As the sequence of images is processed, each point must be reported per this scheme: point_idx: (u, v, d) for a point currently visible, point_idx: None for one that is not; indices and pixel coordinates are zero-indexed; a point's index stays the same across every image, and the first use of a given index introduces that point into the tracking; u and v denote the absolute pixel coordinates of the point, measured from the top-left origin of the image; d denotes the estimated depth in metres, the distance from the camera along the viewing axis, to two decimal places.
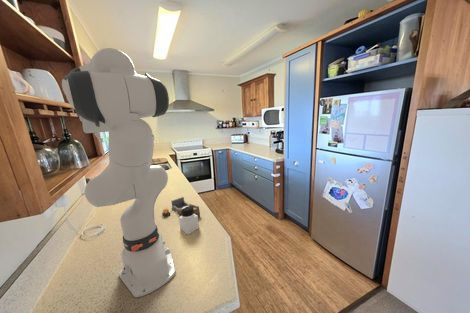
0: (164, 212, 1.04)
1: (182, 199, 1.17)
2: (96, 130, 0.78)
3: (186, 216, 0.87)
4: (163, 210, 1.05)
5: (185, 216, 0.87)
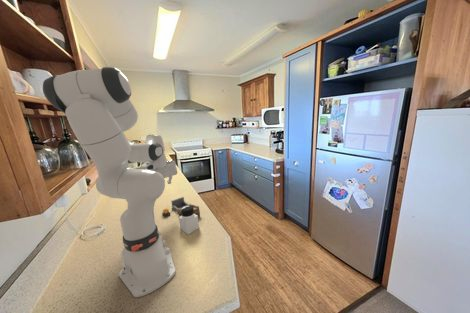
0: (164, 212, 1.04)
1: (182, 199, 1.17)
2: None
3: (186, 216, 0.87)
4: (163, 210, 1.05)
5: (185, 216, 0.87)
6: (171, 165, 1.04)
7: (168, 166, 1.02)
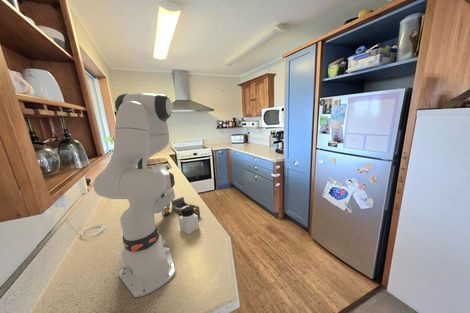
0: None
1: (182, 199, 1.17)
2: None
3: (186, 216, 0.87)
4: None
5: (185, 216, 0.87)
6: (171, 190, 1.10)
7: None
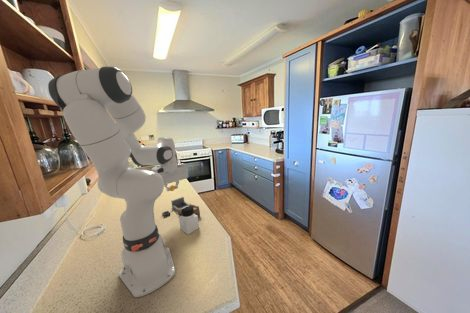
0: None
1: (182, 199, 1.17)
2: None
3: (186, 216, 0.87)
4: (169, 187, 1.00)
5: (185, 216, 0.87)
6: (182, 168, 1.02)
7: (179, 169, 1.00)
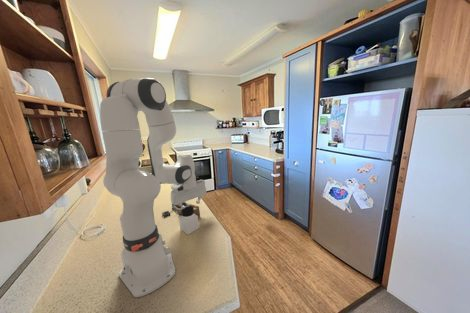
0: (177, 205, 1.14)
1: None
2: None
3: (186, 216, 0.87)
4: (177, 204, 1.13)
5: (185, 216, 0.87)
6: (200, 185, 1.01)
7: (197, 186, 1.00)
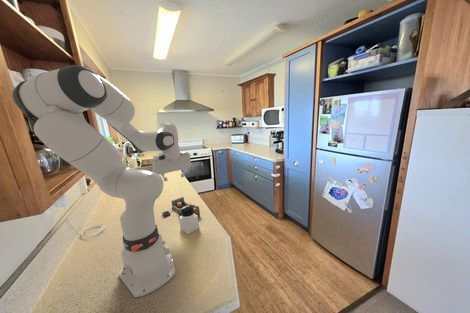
0: None
1: (182, 199, 1.17)
2: None
3: (186, 216, 0.87)
4: (177, 204, 1.13)
5: (185, 216, 0.87)
6: (185, 157, 0.98)
7: (181, 158, 0.96)
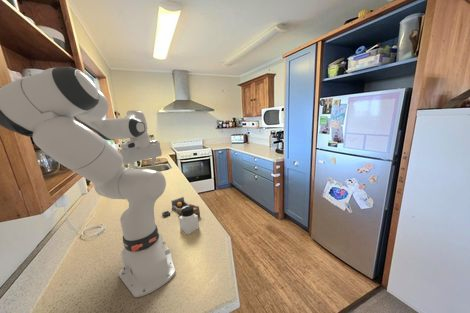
0: None
1: (182, 199, 1.17)
2: None
3: (186, 216, 0.87)
4: (177, 204, 1.13)
5: (185, 216, 0.87)
6: (155, 145, 0.98)
7: (151, 146, 0.96)
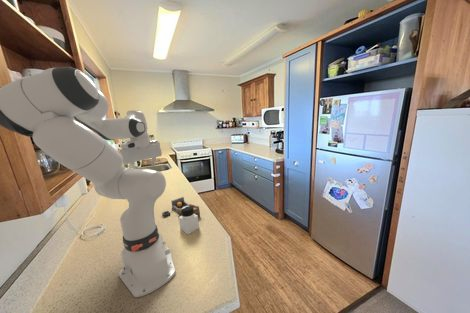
0: (177, 205, 1.14)
1: (182, 199, 1.17)
2: None
3: (186, 216, 0.87)
4: (177, 204, 1.13)
5: (185, 216, 0.87)
6: (155, 145, 0.98)
7: (151, 146, 0.96)
